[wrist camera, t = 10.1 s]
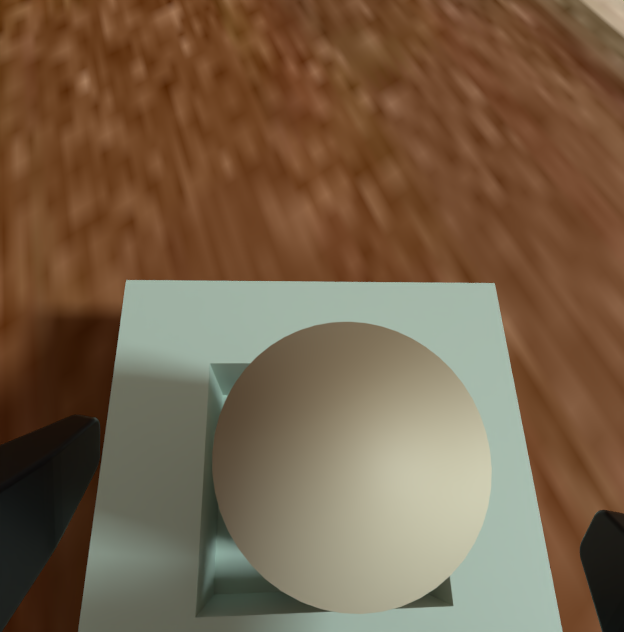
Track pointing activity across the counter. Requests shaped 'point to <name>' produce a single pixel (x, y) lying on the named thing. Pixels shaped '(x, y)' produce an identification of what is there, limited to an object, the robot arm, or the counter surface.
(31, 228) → the counter surface
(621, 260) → the counter surface
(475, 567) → the socket block
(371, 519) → the beech peg
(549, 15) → the counter surface
